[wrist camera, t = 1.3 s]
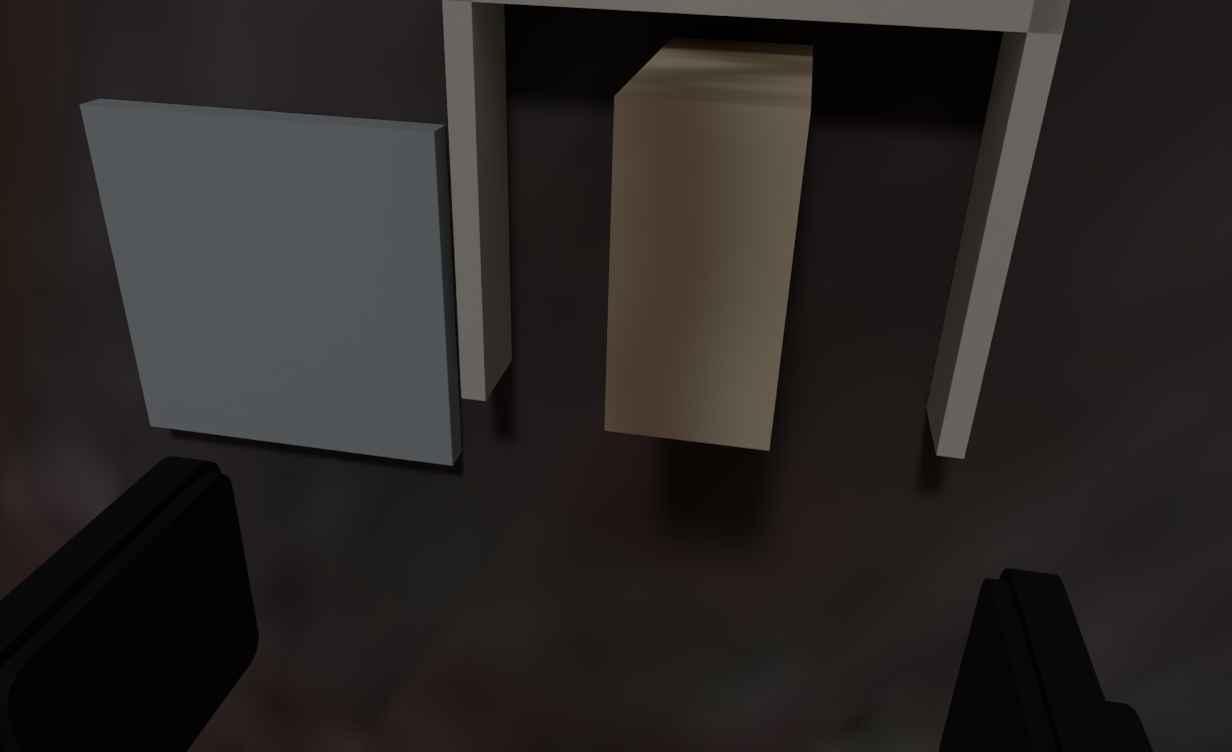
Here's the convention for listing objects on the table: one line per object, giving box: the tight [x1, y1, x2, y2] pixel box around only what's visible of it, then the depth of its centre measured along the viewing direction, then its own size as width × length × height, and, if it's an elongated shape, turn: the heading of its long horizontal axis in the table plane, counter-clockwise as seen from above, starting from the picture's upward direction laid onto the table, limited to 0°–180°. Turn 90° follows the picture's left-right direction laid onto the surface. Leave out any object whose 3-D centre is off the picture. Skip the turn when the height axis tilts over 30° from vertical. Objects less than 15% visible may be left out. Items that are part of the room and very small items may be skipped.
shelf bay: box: [442, 0, 1070, 459], centre depth 28 cm, size 16×13×3 cm
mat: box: [80, 99, 462, 466], centre depth 33 cm, size 12×12×1 cm
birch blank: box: [605, 37, 813, 451], centre depth 25 cm, size 4×8×9 cm, turn 178°
